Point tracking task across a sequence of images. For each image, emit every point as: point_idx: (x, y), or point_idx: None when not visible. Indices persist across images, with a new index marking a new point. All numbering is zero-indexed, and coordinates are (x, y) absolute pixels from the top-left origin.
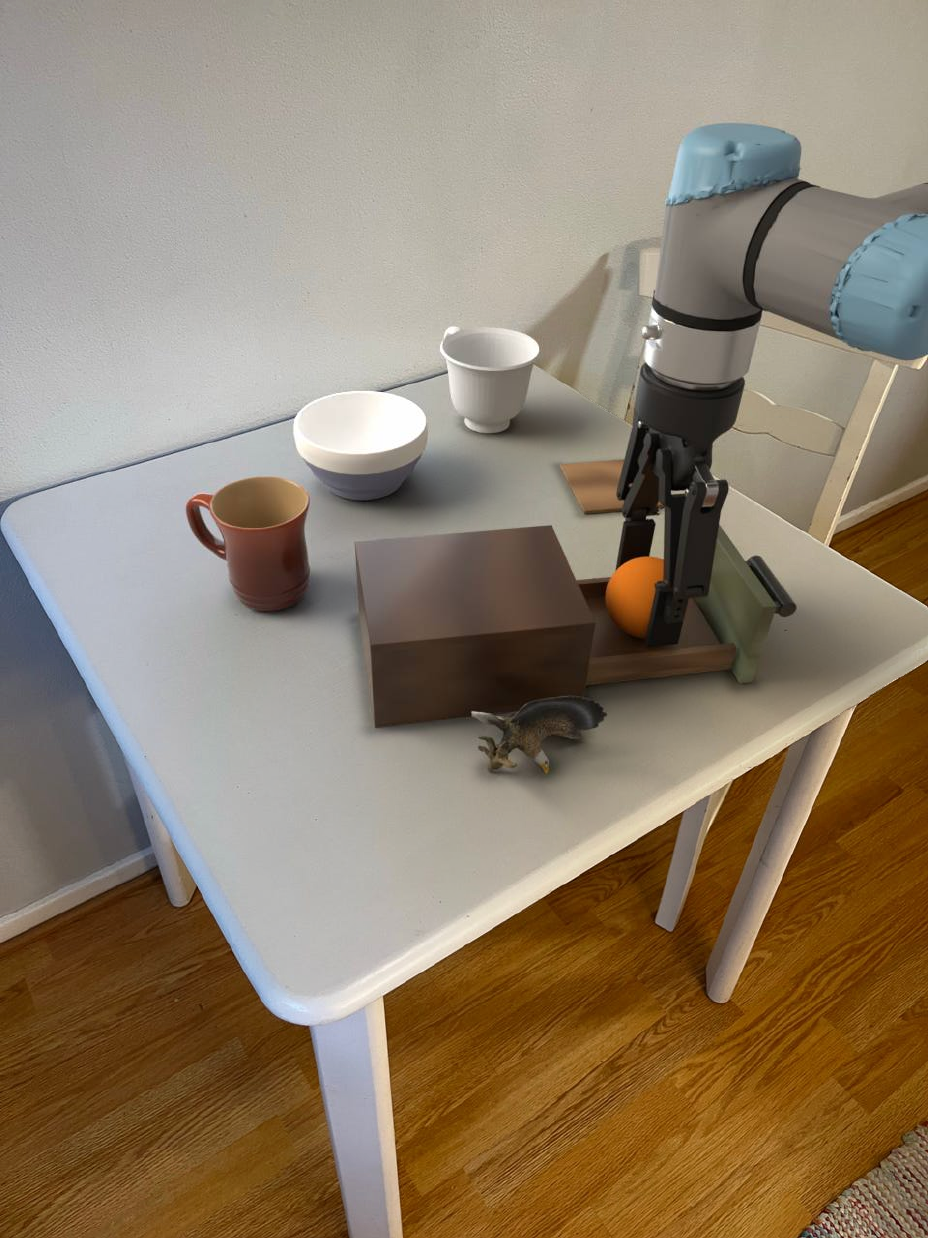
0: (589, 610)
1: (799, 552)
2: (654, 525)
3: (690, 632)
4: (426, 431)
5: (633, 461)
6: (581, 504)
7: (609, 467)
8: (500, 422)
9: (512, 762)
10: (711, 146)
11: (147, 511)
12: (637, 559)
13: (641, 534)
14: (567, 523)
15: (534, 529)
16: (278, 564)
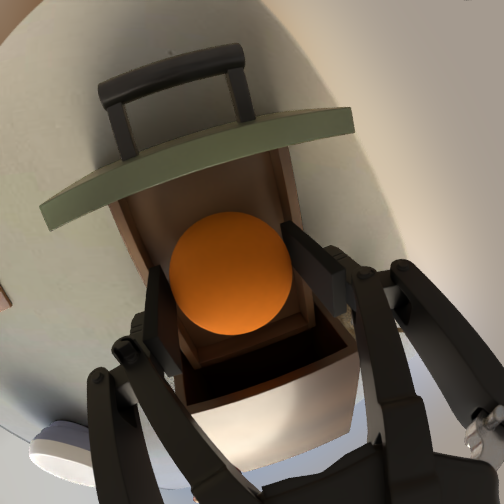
0: (344, 358)
1: (16, 45)
2: (157, 334)
3: (220, 185)
4: (50, 451)
5: (151, 476)
6: (3, 309)
7: None
8: None
9: (398, 330)
10: None
11: (161, 475)
12: (219, 326)
13: (168, 338)
14: (33, 319)
15: None
16: (236, 467)
